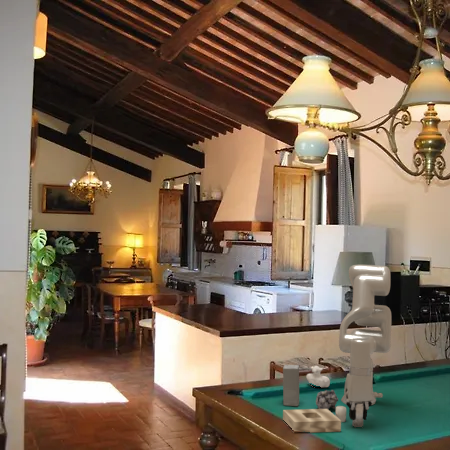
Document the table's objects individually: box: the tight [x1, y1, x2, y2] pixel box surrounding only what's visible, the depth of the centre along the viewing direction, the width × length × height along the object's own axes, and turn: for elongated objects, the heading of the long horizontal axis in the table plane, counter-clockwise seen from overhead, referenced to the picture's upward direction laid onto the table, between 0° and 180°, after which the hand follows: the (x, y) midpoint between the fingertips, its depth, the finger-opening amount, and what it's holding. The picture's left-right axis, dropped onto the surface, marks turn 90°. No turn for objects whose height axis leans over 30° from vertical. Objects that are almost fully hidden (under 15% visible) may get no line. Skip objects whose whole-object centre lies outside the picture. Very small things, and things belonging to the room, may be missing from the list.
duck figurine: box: [306, 365, 331, 388], centre depth 274 cm, size 12×8×11 cm
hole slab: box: [282, 408, 342, 433], centre depth 219 cm, size 18×14×4 cm
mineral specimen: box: [315, 389, 339, 410], centre depth 239 cm, size 12×9×10 cm
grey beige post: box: [351, 402, 364, 428], centre depth 221 cm, size 4×4×9 cm
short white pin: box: [335, 405, 347, 423], centre depth 227 cm, size 4×4×5 cm
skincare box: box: [282, 364, 300, 407], centre depth 247 cm, size 8×7×16 cm
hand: (357, 418), depth 221 cm, fingers closed on grey beige post, 4 cm apart
